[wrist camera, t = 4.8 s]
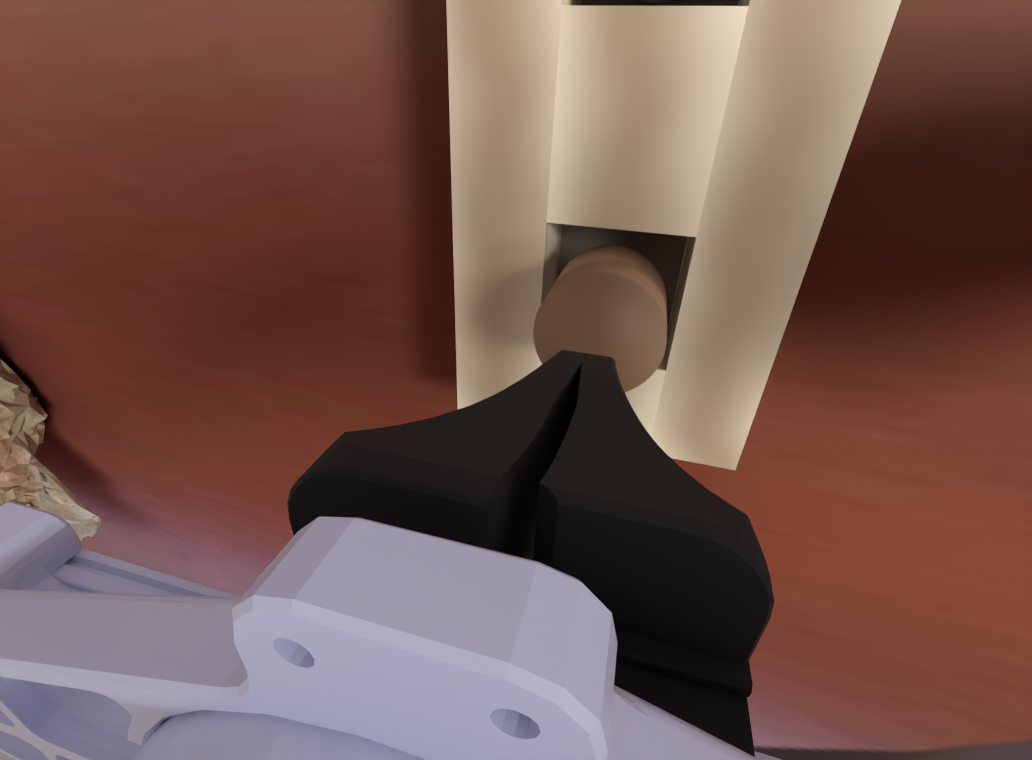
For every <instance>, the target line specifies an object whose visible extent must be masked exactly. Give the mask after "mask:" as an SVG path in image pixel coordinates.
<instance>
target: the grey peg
mask: <svg viewBox="0 0 1032 760" xmlns="http://www.w3.org/2000/svg"><path fill="white" fill-rule="evenodd" d="M640 1H644V2H648V3H665V2H669V1H674V0H640Z"/></svg>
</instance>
